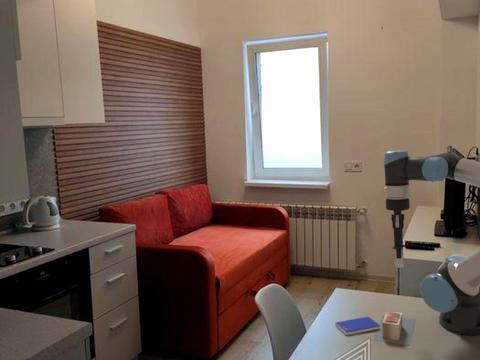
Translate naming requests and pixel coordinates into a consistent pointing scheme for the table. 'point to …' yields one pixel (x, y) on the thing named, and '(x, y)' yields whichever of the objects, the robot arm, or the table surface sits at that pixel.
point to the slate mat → (404, 336)
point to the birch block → (392, 325)
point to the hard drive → (357, 325)
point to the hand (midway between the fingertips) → (399, 266)
